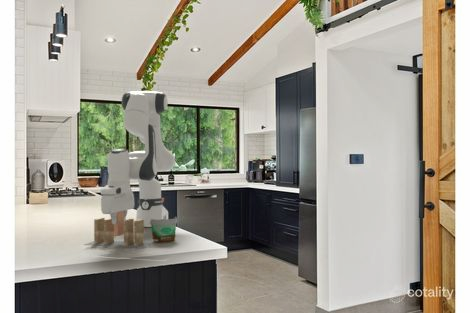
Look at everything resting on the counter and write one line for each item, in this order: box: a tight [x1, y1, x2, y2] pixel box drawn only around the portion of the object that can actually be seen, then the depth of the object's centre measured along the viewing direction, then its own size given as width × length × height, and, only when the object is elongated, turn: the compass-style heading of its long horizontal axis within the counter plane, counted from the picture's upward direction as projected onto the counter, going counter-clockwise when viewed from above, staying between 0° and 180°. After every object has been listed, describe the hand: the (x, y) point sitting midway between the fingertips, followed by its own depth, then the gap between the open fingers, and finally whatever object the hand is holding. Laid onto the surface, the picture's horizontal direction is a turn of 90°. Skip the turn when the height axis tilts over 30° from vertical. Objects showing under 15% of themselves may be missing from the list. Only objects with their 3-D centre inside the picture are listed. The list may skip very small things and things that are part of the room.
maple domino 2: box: [104, 217, 115, 245], centre depth 170 cm, size 2×5×10 cm, turn 165°
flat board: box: [83, 240, 154, 249], centre depth 169 cm, size 10×26×1 cm, turn 75°
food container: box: [150, 216, 179, 244], centre depth 173 cm, size 12×6×10 cm, turn 126°
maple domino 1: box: [93, 217, 105, 244], centre depth 171 cm, size 2×5×10 cm, turn 165°
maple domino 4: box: [134, 219, 145, 246], centre depth 167 cm, size 2×5×10 cm, turn 165°
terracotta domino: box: [114, 211, 124, 237], centre depth 169 cm, size 2×5×10 cm, turn 166°
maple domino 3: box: [123, 218, 135, 246], centre depth 168 cm, size 2×5×10 cm, turn 165°
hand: (119, 222), depth 169 cm, fingers closed on terracotta domino, 5 cm apart
